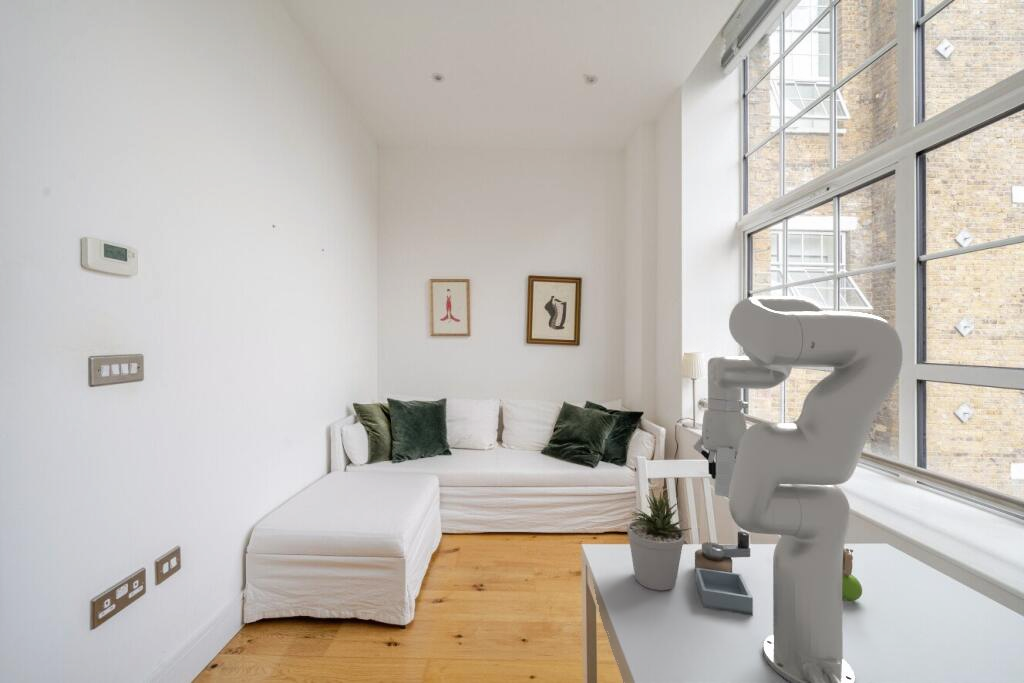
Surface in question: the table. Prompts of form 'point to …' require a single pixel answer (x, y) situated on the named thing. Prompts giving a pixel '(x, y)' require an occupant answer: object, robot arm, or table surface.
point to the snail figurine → (849, 579)
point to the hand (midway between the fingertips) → (724, 477)
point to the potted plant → (656, 546)
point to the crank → (727, 549)
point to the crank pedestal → (712, 563)
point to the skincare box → (724, 470)
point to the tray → (724, 591)
